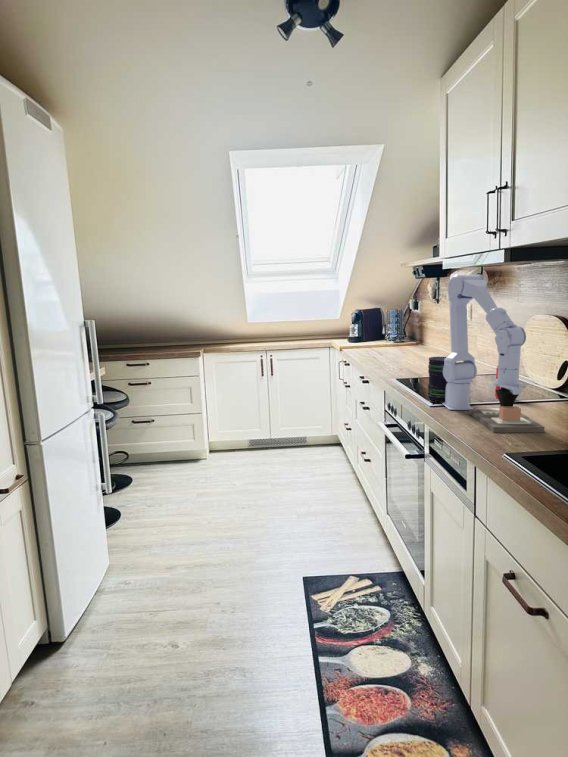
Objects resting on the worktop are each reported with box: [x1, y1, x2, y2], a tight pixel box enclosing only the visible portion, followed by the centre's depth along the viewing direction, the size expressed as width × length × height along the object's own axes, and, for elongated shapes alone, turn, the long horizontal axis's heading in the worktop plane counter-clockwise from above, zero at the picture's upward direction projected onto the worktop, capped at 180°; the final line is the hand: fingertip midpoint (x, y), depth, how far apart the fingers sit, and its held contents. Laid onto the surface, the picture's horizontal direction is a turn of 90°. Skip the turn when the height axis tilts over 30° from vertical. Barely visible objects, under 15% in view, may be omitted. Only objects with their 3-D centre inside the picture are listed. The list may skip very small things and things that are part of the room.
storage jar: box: [427, 356, 456, 403], centre depth 186 cm, size 10×10×15 cm
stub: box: [491, 405, 531, 424], centre depth 149 cm, size 6×9×4 cm, turn 88°
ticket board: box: [468, 407, 545, 433], centre depth 154 cm, size 22×14×2 cm, turn 178°
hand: (505, 413), depth 153 cm, fingers closed
